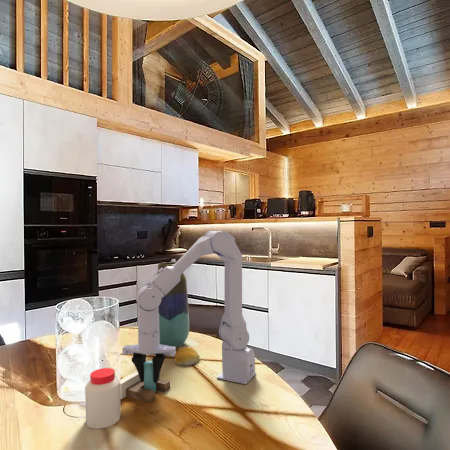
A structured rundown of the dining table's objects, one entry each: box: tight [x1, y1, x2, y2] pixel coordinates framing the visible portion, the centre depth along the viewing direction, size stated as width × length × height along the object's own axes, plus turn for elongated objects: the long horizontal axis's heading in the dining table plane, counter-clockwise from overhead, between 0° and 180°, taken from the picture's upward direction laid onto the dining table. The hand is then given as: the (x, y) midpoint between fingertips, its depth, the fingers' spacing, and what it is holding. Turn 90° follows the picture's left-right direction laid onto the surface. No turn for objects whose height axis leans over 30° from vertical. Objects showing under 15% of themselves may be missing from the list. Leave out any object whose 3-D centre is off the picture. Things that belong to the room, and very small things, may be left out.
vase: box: [156, 261, 190, 348], centre depth 132 cm, size 14×14×31 cm
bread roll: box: [173, 347, 201, 366], centre depth 116 cm, size 8×9×4 cm
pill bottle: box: [84, 367, 122, 430], centre depth 81 cm, size 8×8×11 cm
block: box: [125, 378, 171, 404], centre depth 94 cm, size 8×9×2 cm
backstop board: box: [119, 370, 140, 400], centre depth 97 cm, size 2×12×4 cm, turn 153°
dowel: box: [144, 360, 157, 394], centre depth 94 cm, size 3×3×8 cm
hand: (149, 380), depth 94 cm, fingers open, 3 cm apart
